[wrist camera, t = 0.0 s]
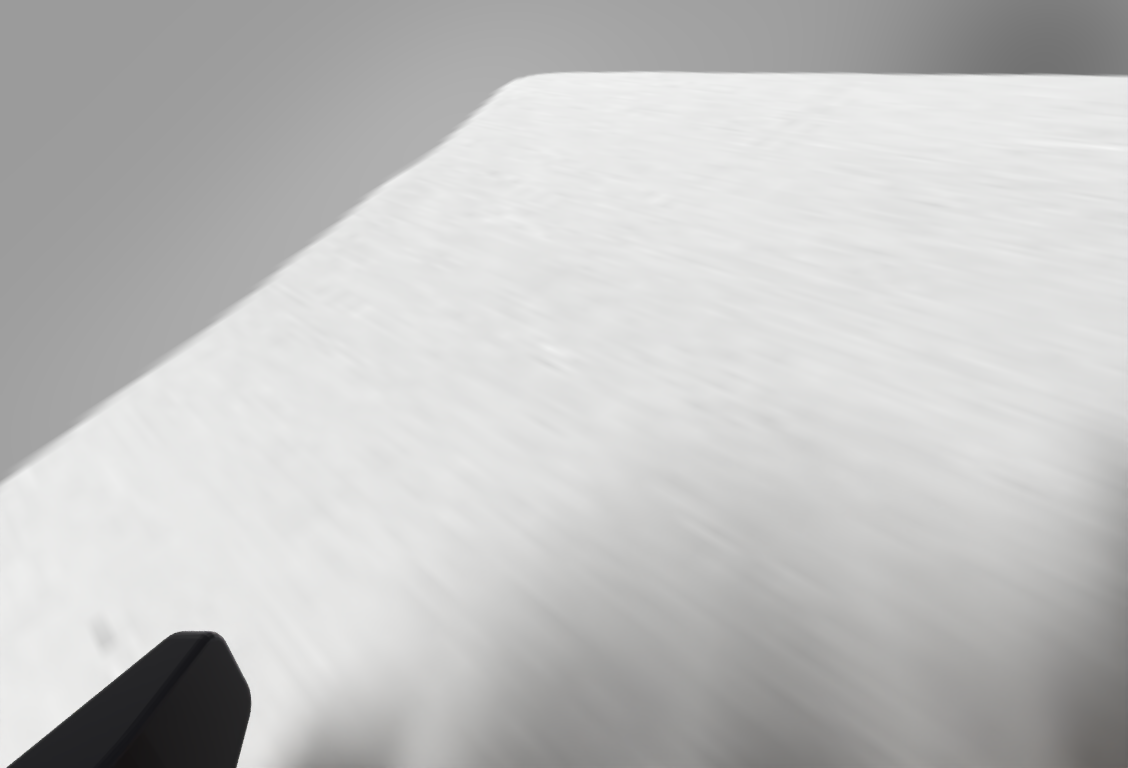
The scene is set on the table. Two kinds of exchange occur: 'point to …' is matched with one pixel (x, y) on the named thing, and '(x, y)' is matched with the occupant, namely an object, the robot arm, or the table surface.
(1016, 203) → the table surface
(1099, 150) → the table surface
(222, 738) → the robot arm
